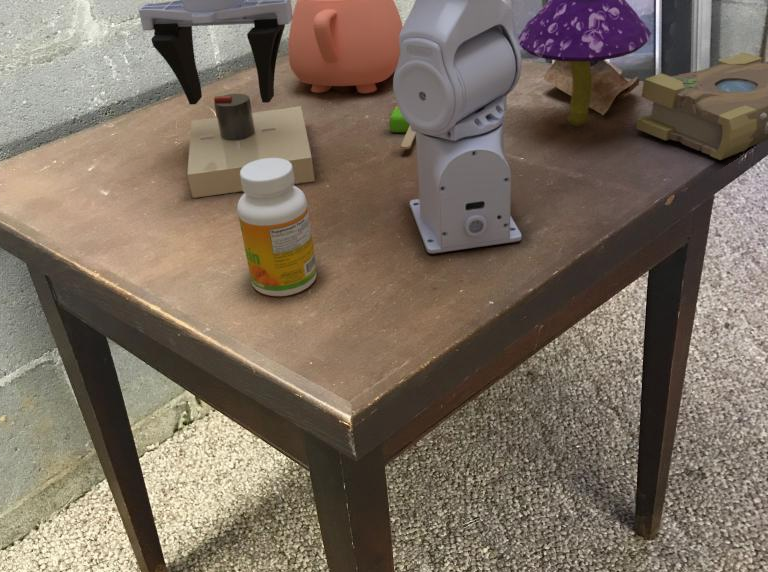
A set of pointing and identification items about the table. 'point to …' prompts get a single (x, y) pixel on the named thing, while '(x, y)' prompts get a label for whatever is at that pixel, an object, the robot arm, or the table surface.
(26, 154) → the table surface
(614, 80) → the crumpled paper bag
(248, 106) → the knob
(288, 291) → the supplement bottle
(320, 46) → the pink rounded body
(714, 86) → the book
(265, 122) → the beige flat block
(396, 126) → the popsicle
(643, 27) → the decorative mushroom
